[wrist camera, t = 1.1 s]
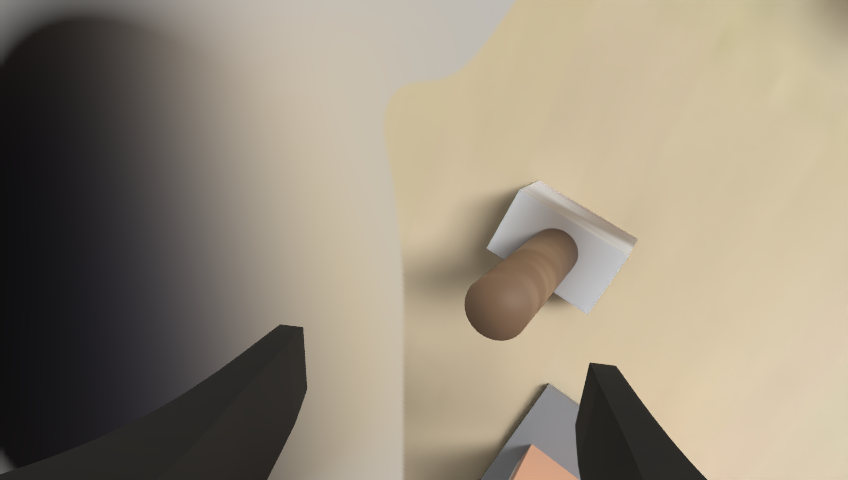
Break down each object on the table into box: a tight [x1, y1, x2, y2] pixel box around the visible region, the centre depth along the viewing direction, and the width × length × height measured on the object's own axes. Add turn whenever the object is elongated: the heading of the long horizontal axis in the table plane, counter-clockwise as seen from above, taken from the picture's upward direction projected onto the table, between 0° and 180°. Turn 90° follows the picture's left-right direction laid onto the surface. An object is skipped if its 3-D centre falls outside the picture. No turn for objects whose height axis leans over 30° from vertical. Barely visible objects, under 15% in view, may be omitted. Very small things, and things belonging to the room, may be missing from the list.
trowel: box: [465, 181, 637, 341], centre depth 20 cm, size 5×3×10 cm, turn 62°
